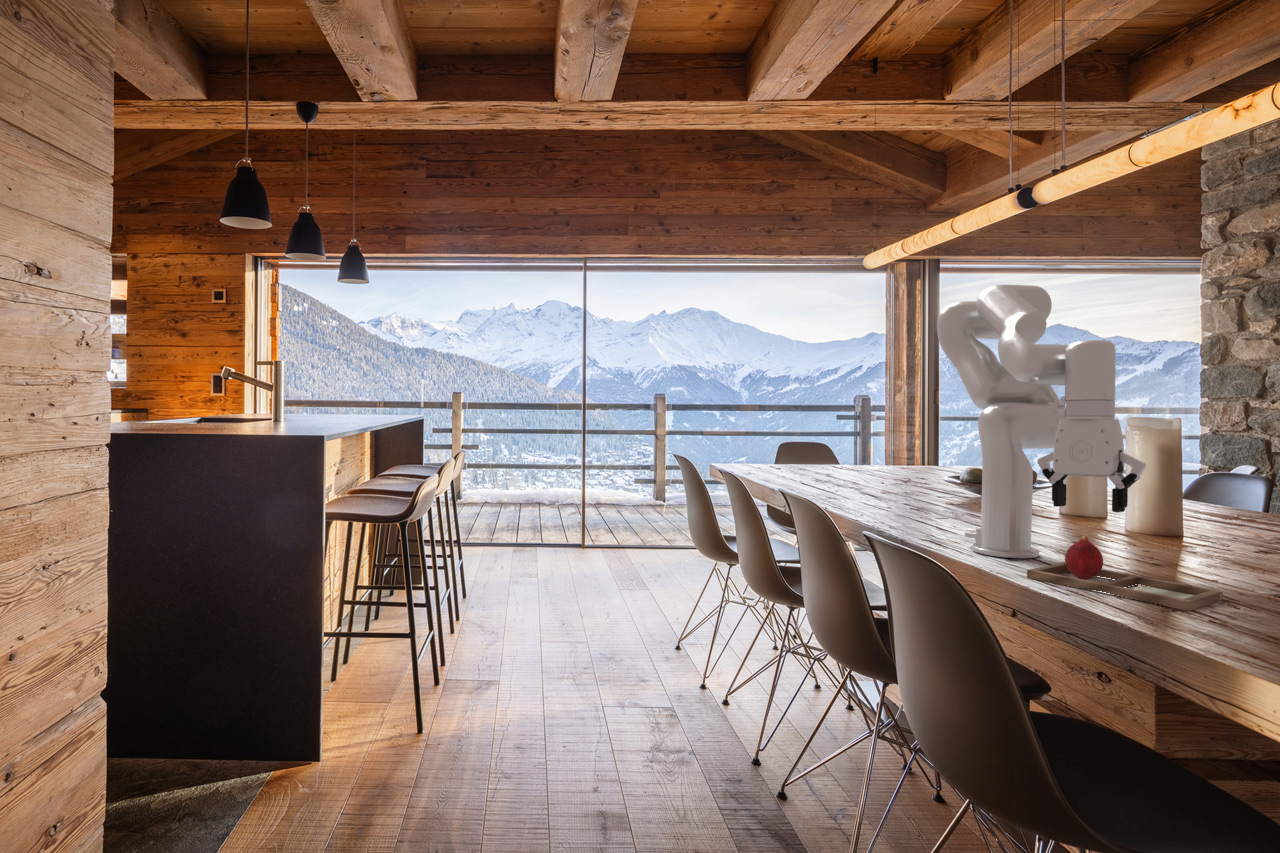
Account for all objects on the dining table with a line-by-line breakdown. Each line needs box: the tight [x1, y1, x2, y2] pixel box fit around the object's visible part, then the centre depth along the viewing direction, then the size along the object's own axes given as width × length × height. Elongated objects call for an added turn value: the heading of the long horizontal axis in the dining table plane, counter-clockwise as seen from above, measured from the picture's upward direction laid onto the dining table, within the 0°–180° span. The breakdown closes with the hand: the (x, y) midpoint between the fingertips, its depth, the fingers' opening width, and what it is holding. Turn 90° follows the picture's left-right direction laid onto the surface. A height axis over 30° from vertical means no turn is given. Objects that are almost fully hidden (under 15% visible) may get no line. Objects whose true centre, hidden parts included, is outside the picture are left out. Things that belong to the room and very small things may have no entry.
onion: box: [1064, 535, 1104, 581], centre depth 128 cm, size 6×6×8 cm
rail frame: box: [1026, 562, 1224, 612], centre depth 123 cm, size 25×13×1 cm, turn 33°
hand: (1088, 508), depth 127 cm, fingers open, 9 cm apart
